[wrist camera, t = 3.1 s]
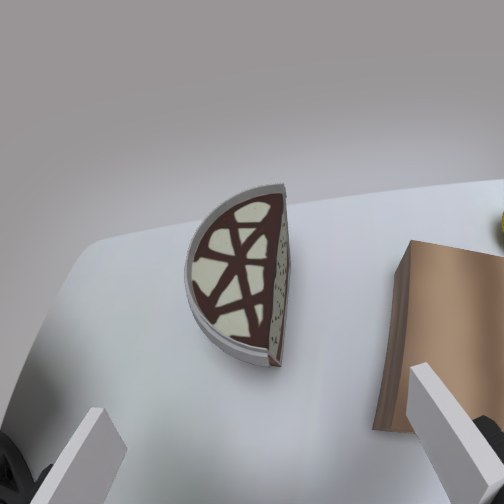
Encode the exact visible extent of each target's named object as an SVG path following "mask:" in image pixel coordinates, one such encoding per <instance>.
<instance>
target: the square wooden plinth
mask: <svg viewBox="0 0 504 504" xmlns="http://www.w3.org/2000/svg"><path fill="white" fill-rule="evenodd" d="M425 362H427V363H428V365H429V366H430V367H431V368H432V370H433V371H434V372H435V373H436V375H437V376H438V377H439V378H440V380H441V381H442V382H443V383H444V385H445V386H446V387H447V388H448V390H449V391H450V392H451V394H452V395H453V396H454V398H455V399H456V400H457V401H458V403H459V404H460V405H461V407H462V408H463V409H464V411H465V412H466V413H467V415H468V416H469V417H470V419H471V420H474V419H476V418H478V417H480V416H482V415H485V416H487V417H488V418H490V419H492V420H494V421H495V422H496V423H497V425H498V426H499V427H500V429H501V431H502V432H504V257H499V256H494V255H489V254H484V253H479V252H474V251H469V250H464V249H458V248H453V247H448V246H442V245H437V244H431V243H426V242H420V241H415V240H411V241H410V243H409V245H408V247H407V249H406V251H405V254H404V256H403V258H402V260H401V262H400V264H399V266H398V268H397V270H396V272H395V278H394V291H393V302H392V313H391V322H390V331H389V339H388V346H387V353H386V360H385V366H384V372H383V378H382V384H381V390H380V395H379V400H378V405H377V410H376V415H375V419H374V424H373V428H372V430H380V431H390V432H401V433H415V431H414V429H413V427H412V425H411V423H410V422H409V420H408V418H407V416H406V409H407V400H408V389H409V376H410V367H412V366H415V365H418V364H422V363H425ZM415 434H416V433H415Z"/></svg>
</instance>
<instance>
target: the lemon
mask: <svg viewBox="0 0 504 504" xmlns="http://www.w3.org/2000/svg"><path fill="white" fill-rule="evenodd" d="M502 230H503V233H504V212H503V216H502Z"/></svg>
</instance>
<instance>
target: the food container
mask: <svg viewBox="0 0 504 504" xmlns="http://www.w3.org/2000/svg"><path fill="white" fill-rule="evenodd" d="M290 269H291V262H290V248H289V234H288V222H287V210H286V190H285V187H284V183H275V184H267V185H261V186H257V187H254V188H250V189H247V190H245V191H242V192H240V193H238V194H236V195H234V196H232V197H231V198H229V199H227V200H225V201H224V202H222V203H221V204H220V205H219V206H217V207H216V208H215V209H214V210H213V211H212V212H211V213H210V214H209V215H208V216H207V217H206V218H205V219H204V220H203V222H202V223H201V224H200V226H199V227H198V228H197V230H196V232H195V234H194V236H193V238H192V240H191V243H190V246H189V248H188V251H187V256H186V262H185V268H184V283H185V289H186V294H187V298H188V302H189V305H190V308H191V311H192V313H193V316H194V318H195V320H196V322H197V323H198V325H199V327H200V328H201V330H202V331H203V332H204V334H205V335H206V336H207V337H208V338H209V339H210V340H211V341H212V342H213V343H214V344H215V345H216V346H218V347H219V348H220V349H222V350H223V351H224V352H226V353H228V354H230V355H231V356H233V357H235V358H237V359H239V360H242V361H245V362H248V363H251V364H254V365H260V366H266V367H269V365H272V366H278V367H281V364H282V354H283V345H284V335H285V325H286V315H287V304H288V293H289V281H290Z"/></svg>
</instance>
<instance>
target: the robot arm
mask: <svg viewBox="0 0 504 504" xmlns="http://www.w3.org/2000/svg"><path fill="white" fill-rule="evenodd" d="M406 416H407V418H408V420H409V422H410V423H411V425H412V427H413V429H414V431H415V433H416V435H417V436H418V438H419V440H420V442H421V444H422V446H423V448H424V450H425V452H426V454H427V456H428V457H429V459H430V461H431V463H432V465H433V467H434V469H435V471H436V473H437V475H438V477H439V479H440V481H441V483H442V485H443V487H444V489H445V491H446V493H447V495H448V498H449V500H450V502H451V504H504V432H502V431H501V429H500V427H499V426H498V425H497V423H496V422H495V421H494V420H492V419H490V418H488V417H487V416H485V415H482V416H480V417H478V418H476V419H474V420H471V419H470V417H469V416H468V415H467V413H466V412H465V411H464V409H463V408H462V407H461V405H460V404H459V403H458V401H457V400H456V399H455V398H454V396H453V395H452V394H451V392H450V391H449V390H448V388H447V387H446V386H445V385H444V383H443V382H442V381H441V380H440V378H439V377H438V376H437V375H436V373H435V372H434V371H433V370H432V368H431V367H430V366H429V365H428V363H427V362H425V363H422V364H418V365H415V366H412V367H410V376H409V389H408V400H407V409H406ZM126 452H127V447H126V446H125V444H124V442H123V440H122V439H121V437H120V435H119V434H118V432H117V430H116V428H115V427H114V425H113V423H112V421H111V419H110V417H109V416H108V414H107V412H106V410H105V408H93V407H91V409H90V410H89V412H88V413H87V415H86V416H85V418H84V419H83V421H82V422H81V424H80V425H79V427H78V428H77V430H76V431H75V433H74V434H73V436H72V437H71V439H70V440H69V442H68V444H67V445H66V447H65V448H64V450H63V451H62V453H61V454H60V456H59V458H58V459H57V461H56V462H55V464H50V465H49V466H48V467H47V468H45V469H44V470H43V471H42V473H41V474H40V476H39V478H38V481H36V482H35V484H34V483H33V480H32V477H31V475H30V472H29V470H28V467H27V465H26V463H25V461H24V459H23V457H22V456H21V454H20V452H19V451H18V449H17V448H16V446H15V445H14V444H13V442H12V441H11V440H10V439H9V438H8V437H7V436H6V435H5V434H4V433H2V432H1V431H0V504H104V502H105V499H106V497H107V495H108V492H109V490H110V488H111V485H112V483H113V481H114V479H115V476H116V474H117V472H118V470H119V467H120V465H121V463H122V461H123V458H124V456H125V454H126Z"/></svg>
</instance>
